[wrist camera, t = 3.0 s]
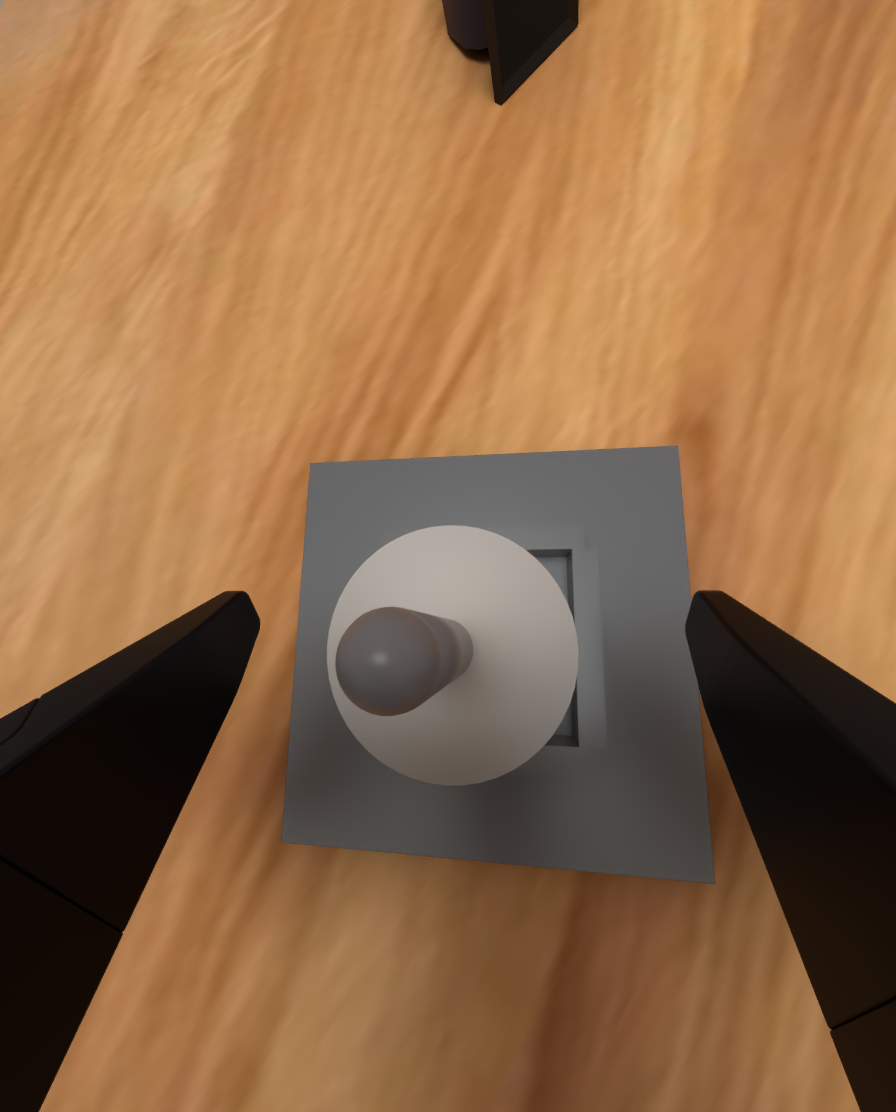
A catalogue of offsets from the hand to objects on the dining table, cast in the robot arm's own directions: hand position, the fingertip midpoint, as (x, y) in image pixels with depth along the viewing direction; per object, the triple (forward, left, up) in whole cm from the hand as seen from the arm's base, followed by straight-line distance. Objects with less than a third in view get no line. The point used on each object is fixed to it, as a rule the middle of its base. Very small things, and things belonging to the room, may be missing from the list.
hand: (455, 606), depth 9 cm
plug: (-1, 0, -7) cm, 7 cm away
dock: (-1, 0, -7) cm, 7 cm away
